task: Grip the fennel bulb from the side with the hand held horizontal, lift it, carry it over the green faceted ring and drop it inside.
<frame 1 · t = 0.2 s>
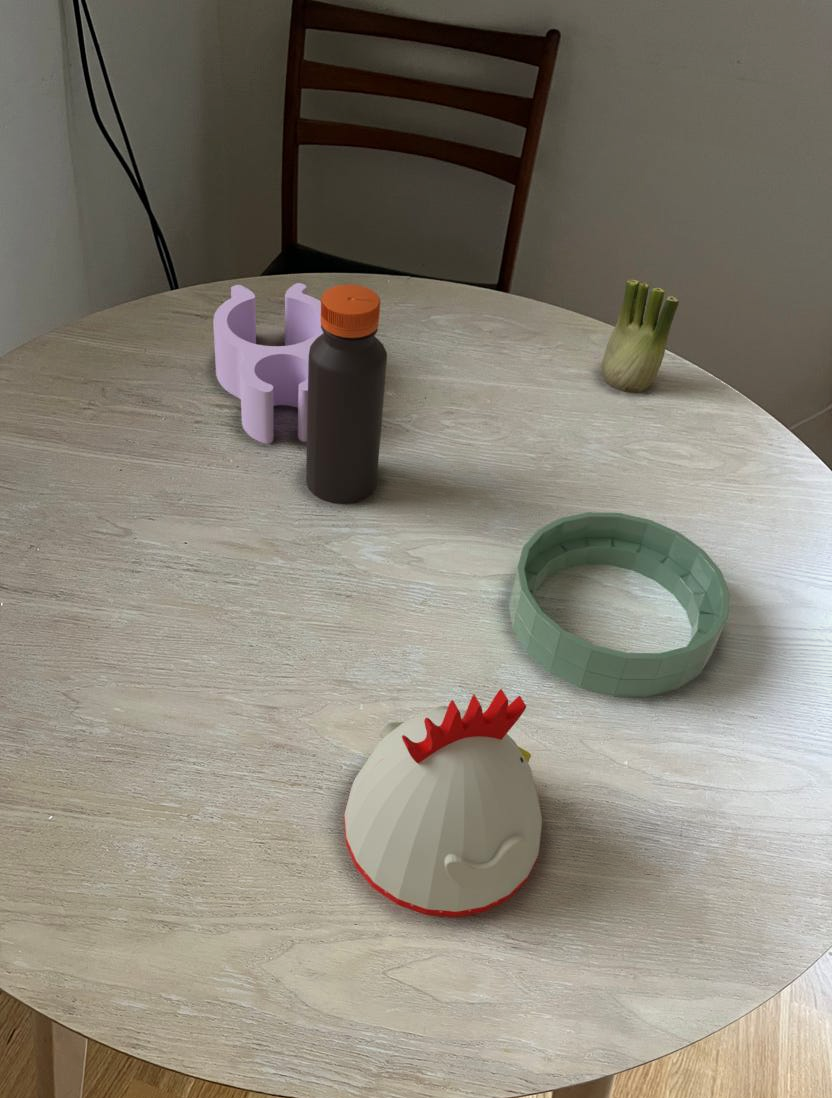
fennel bulb: (622, 389, 117), on the table
bottle: (341, 490, 103), on the table
green faceted ring: (608, 626, 92), on the table
clip: (277, 394, 114), on the table
kitchen timer: (439, 837, 77), on the table
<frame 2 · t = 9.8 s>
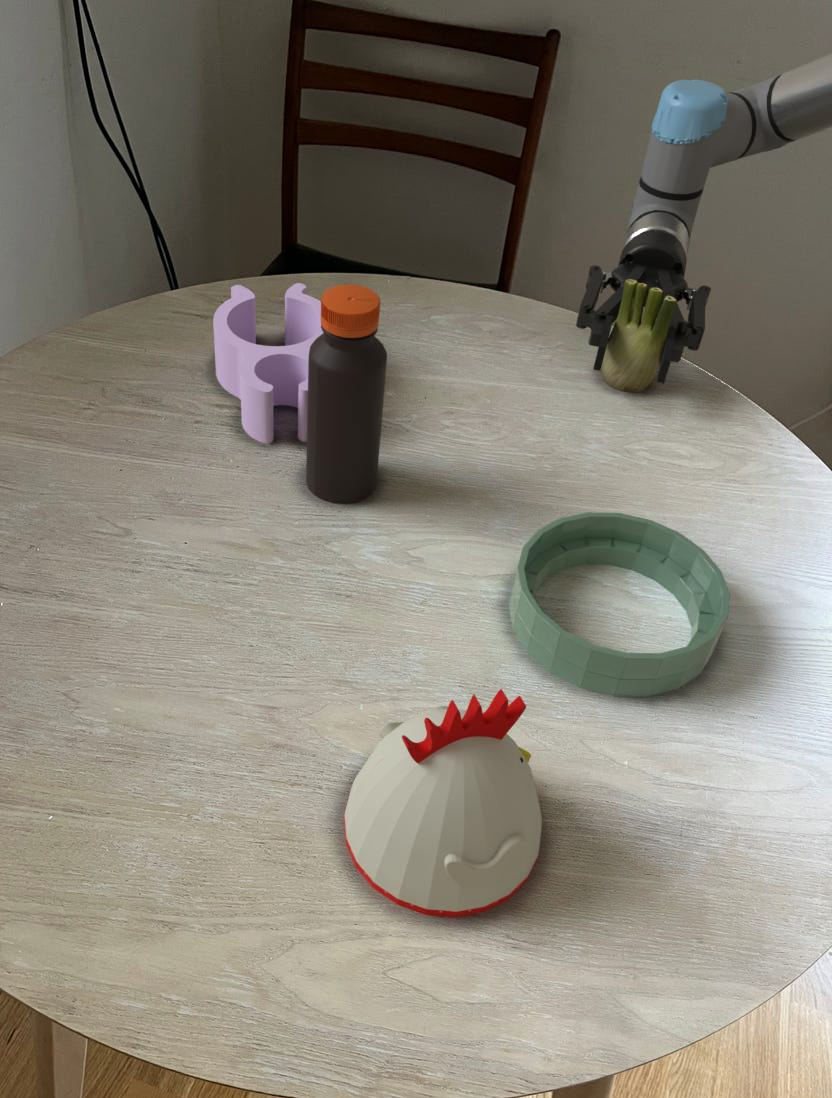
hand: (631, 364, 109), 6 cm above the table, tool horizontal, fingers closed on fennel bulb, 6 cm apart
fennel bulb: (621, 389, 117), on the table, touching gripper
everything else where it was.
when the fingers open (10 cm above the table, at t = 32.8 s): fennel bulb drops 4 cm, resting on green faceted ring.
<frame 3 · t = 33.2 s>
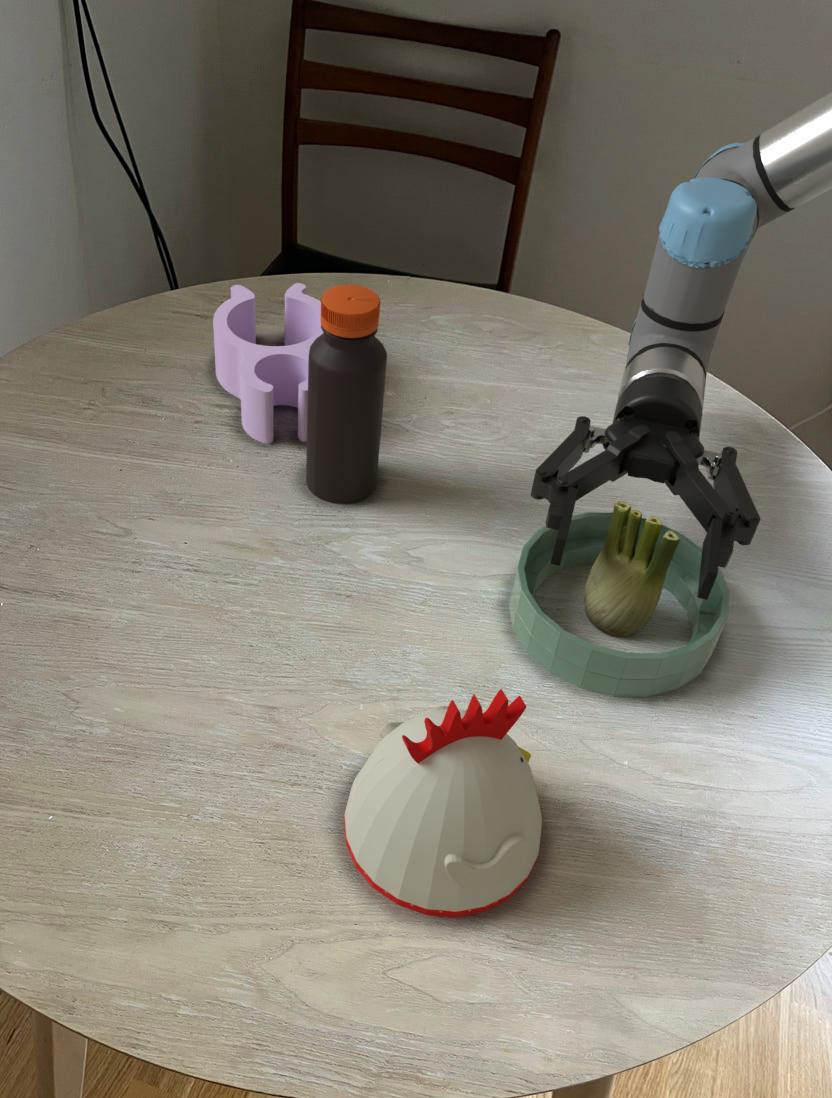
hand: (631, 569, 82), 10 cm above the table, tool horizontal, fingers open, 11 cm apart
fennel bulb: (609, 623, 92), resting on green faceted ring
everything else where it was.
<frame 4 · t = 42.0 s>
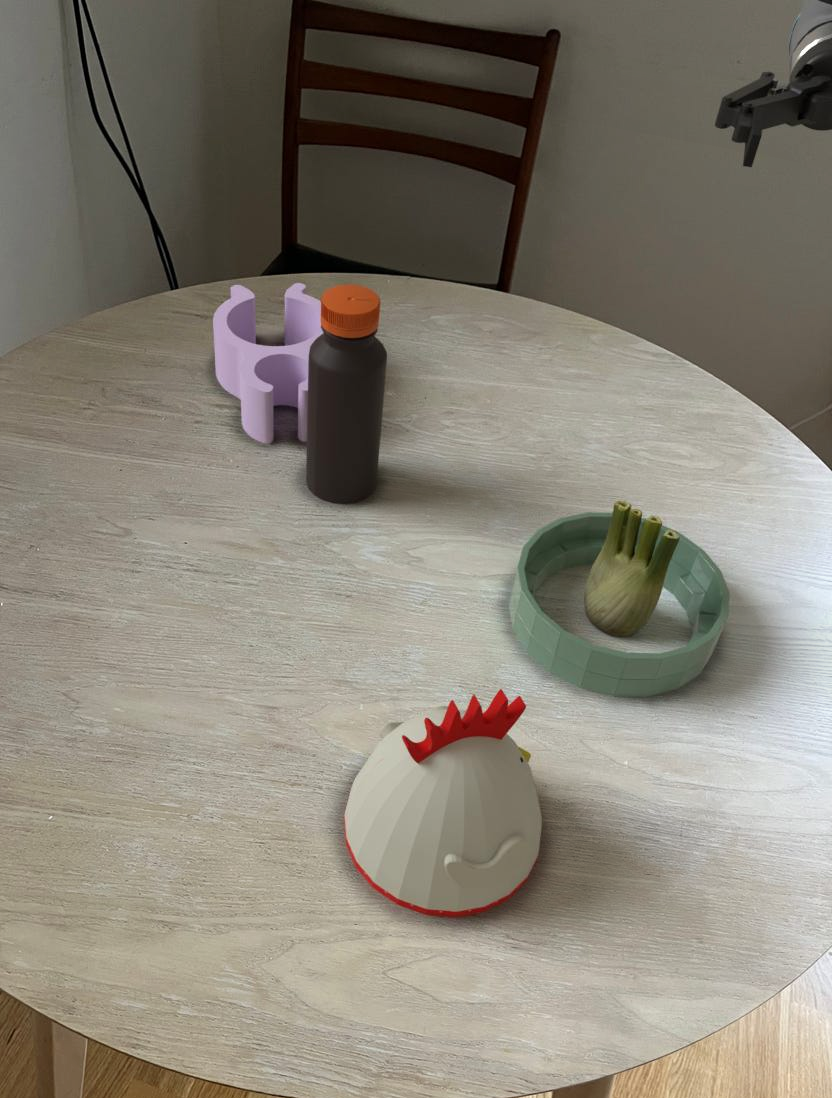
nothing on the table moved.
at the end: fennel bulb inside the target area in the green faceted ring (0.0 cm from its centre), point 0.3 cm above the green faceted ring's base; the gripper is holding nothing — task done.
